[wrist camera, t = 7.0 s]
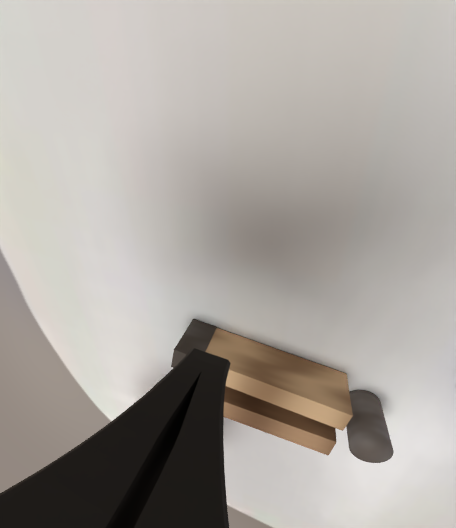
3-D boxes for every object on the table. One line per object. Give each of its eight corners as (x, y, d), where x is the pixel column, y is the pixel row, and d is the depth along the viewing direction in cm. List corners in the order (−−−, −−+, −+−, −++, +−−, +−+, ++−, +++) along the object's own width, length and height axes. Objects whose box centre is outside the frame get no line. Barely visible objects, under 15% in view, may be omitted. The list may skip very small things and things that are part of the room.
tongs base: (386, 397, 21) (400, 445, 17) (367, 426, 22) (376, 475, 19) (190, 333, 23) (171, 365, 20) (186, 363, 24) (167, 397, 21)
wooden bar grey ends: (346, 373, 21) (353, 416, 17) (337, 388, 21) (342, 432, 18) (193, 318, 22) (174, 349, 19) (190, 334, 23) (171, 366, 20)
